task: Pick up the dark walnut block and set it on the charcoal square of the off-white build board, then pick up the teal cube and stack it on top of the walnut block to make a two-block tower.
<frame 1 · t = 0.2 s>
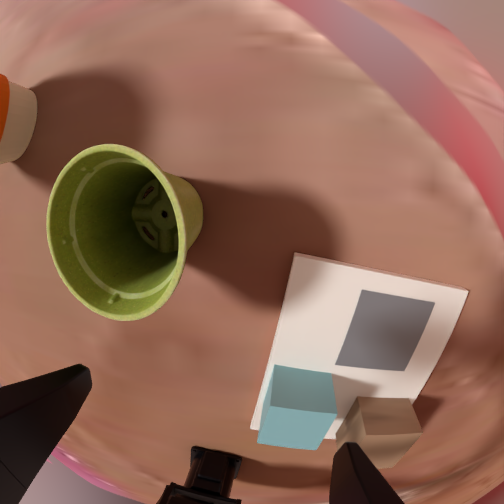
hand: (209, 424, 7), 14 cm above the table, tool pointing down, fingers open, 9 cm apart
plant pot: (169, 214, 21), on the table
reusable coffee cup: (18, 124, 21), on the table
walnut block: (372, 417, 22), point 1 cm above the table, touching build board
teal cube: (295, 389, 22), point 1 cm above the table, touching build board
build board: (355, 369, 22), on the table
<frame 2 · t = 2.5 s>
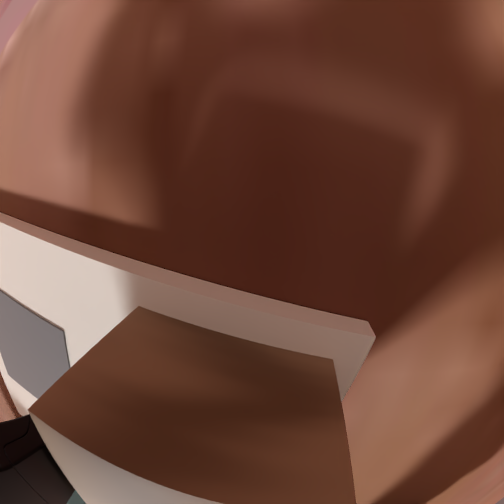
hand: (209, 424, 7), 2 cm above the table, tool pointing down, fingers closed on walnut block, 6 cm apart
walnut block: (216, 403, 8), point 1 cm above the table, touching build board, gripper
build board: (104, 399, 11), on the table
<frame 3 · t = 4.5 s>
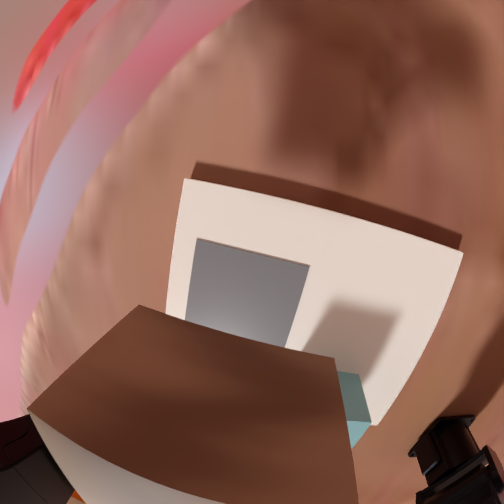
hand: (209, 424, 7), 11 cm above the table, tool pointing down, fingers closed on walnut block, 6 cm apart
walnut block: (217, 402, 8), point 10 cm above the table, touching gripper
teal cube: (315, 393, 19), point 1 cm above the table, touching build board
build board: (304, 326, 18), on the table
when the fingers open (4 cm above the table, at t = 6.4 s): walnut block drops 1 cm, resting on build board.
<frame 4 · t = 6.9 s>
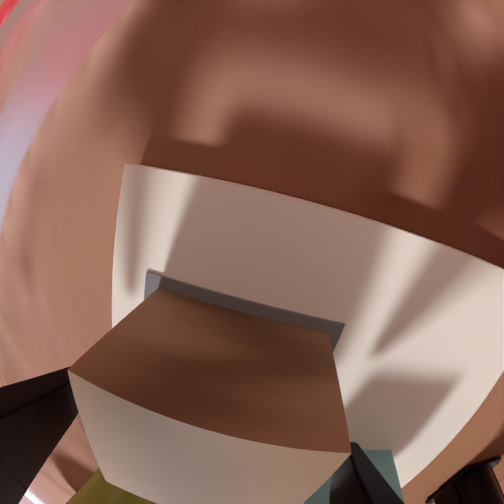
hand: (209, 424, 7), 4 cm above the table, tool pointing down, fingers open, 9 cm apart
plant pot: (131, 480, 17), on the table
walnut block: (225, 377, 10), point 1 cm above the table, touching build board
teal cube: (330, 472, 11), point 1 cm above the table, touching build board
build board: (323, 399, 11), on the table
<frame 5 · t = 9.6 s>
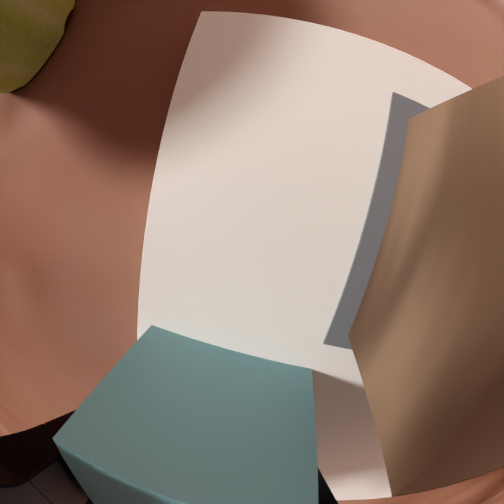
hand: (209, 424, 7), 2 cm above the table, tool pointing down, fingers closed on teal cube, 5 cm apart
plant pot: (36, 40, 7), on the table
walnut block: (468, 258, 6), point 1 cm above the table, touching build board
teal cube: (216, 403, 8), point 1 cm above the table, touching build board, gripper
build board: (375, 362, 8), on the table
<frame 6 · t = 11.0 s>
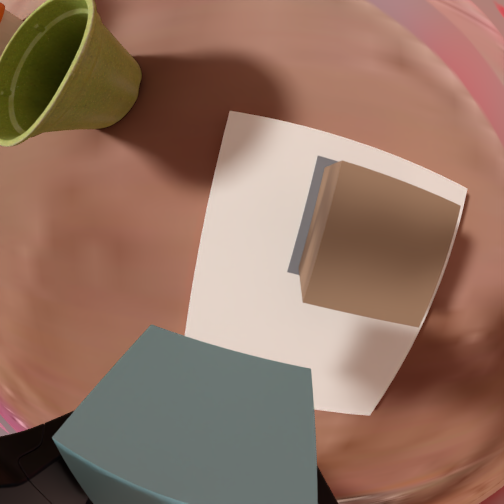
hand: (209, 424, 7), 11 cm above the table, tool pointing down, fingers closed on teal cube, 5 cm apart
plant pot: (110, 92, 16), on the table
reusable coffee cup: (6, 51, 15), on the table
walnut block: (360, 232, 15), point 1 cm above the table, touching build board
teal cube: (216, 403, 8), point 10 cm above the table, touching gripper
build board: (319, 290, 18), on the table
when the fingers open (8 cm above the table, at t = 12.5 s): teal cube drops 1 cm, resting on walnut block.
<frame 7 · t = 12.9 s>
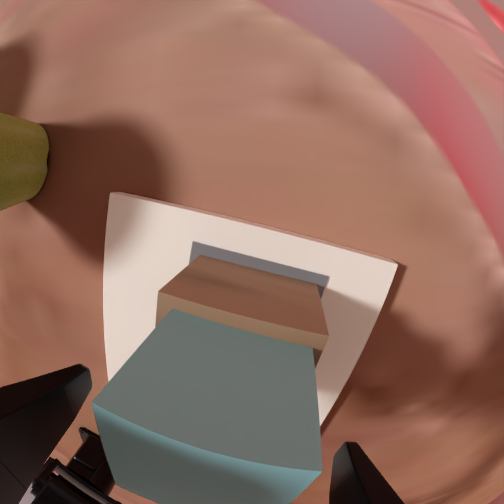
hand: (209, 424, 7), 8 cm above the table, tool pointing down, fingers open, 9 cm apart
plant pot: (31, 161, 15), on the table
walnut block: (245, 321, 15), point 1 cm above the table, touching build board, teal cube
teal cube: (227, 381, 10), point 6 cm above the table, touching walnut block
build board: (217, 365, 17), on the table
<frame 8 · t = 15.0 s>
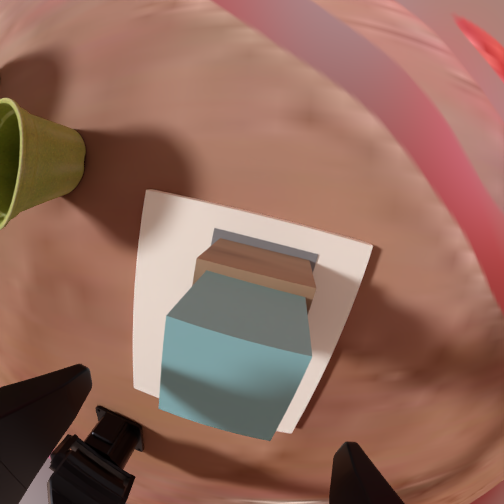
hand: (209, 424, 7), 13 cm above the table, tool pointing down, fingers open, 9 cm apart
plant pot: (66, 162, 20), on the table
walnut block: (254, 290, 19), point 1 cm above the table, touching build board, teal cube
teal cube: (244, 327, 14), point 6 cm above the table, touching walnut block
build board: (230, 332, 21), on the table
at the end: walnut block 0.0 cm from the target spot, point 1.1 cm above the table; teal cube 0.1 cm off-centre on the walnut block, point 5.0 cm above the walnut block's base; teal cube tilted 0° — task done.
